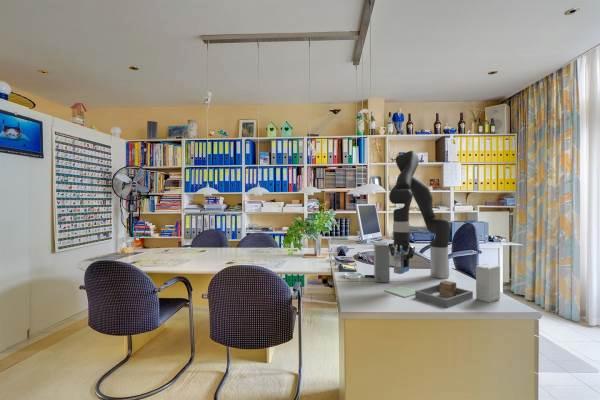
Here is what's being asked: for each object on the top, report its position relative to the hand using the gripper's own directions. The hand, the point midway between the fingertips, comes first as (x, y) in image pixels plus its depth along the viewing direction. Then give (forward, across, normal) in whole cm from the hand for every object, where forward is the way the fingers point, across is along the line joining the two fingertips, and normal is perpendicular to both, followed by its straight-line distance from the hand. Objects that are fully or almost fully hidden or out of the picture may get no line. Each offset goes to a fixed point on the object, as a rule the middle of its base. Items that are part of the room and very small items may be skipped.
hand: (401, 265), depth 141 cm
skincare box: (+13, +28, +22) cm, 38 cm away
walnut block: (+13, +15, +13) cm, 24 cm away
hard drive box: (+13, -22, +10) cm, 27 cm away
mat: (+13, 0, 0) cm, 13 cm away
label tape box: (+3, 0, 0) cm, 3 cm away
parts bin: (+12, +16, +8) cm, 22 cm away
